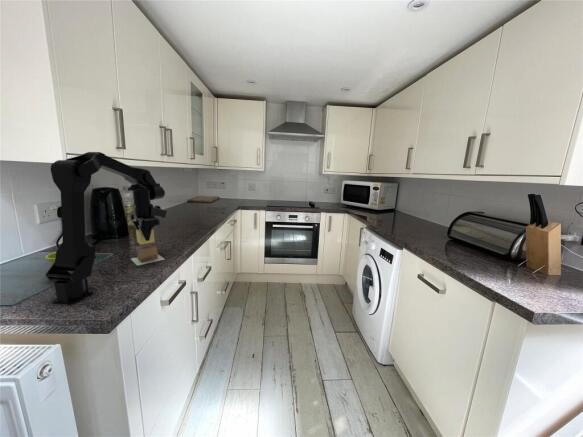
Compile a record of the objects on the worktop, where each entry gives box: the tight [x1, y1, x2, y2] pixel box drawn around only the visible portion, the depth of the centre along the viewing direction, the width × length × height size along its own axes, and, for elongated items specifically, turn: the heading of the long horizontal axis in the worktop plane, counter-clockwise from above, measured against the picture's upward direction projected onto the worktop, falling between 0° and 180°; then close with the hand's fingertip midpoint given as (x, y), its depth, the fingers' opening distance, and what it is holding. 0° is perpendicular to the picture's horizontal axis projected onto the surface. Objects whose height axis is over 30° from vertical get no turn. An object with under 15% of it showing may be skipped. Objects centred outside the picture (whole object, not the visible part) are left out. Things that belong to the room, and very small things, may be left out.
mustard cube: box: [135, 229, 156, 245], centre depth 96 cm, size 5×5×5 cm
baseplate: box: [130, 254, 165, 266], centre depth 98 cm, size 10×10×1 cm
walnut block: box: [136, 244, 158, 263], centre depth 97 cm, size 6×6×5 cm
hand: (145, 239), depth 96 cm, fingers closed on mustard cube, 5 cm apart
